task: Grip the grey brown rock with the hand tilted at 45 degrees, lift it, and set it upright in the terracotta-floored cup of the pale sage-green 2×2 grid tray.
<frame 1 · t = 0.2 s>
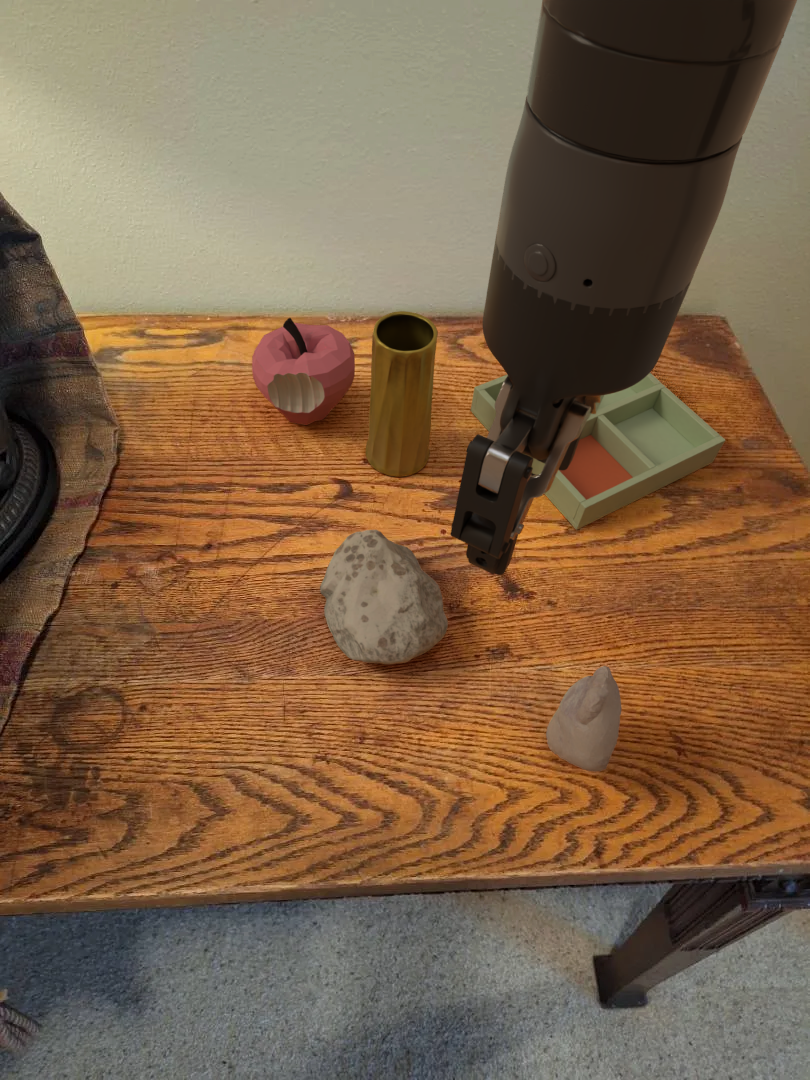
hand: (520, 509, 40), 20 cm above the table, tool pointing down, fingers open, 8 cm apart
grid: (589, 436, 72), on the table
grey brown rock: (565, 751, 53), on the table
decorative stone: (378, 610, 59), on the table
vase: (397, 455, 69), on the table
apple: (307, 413, 72), on the table
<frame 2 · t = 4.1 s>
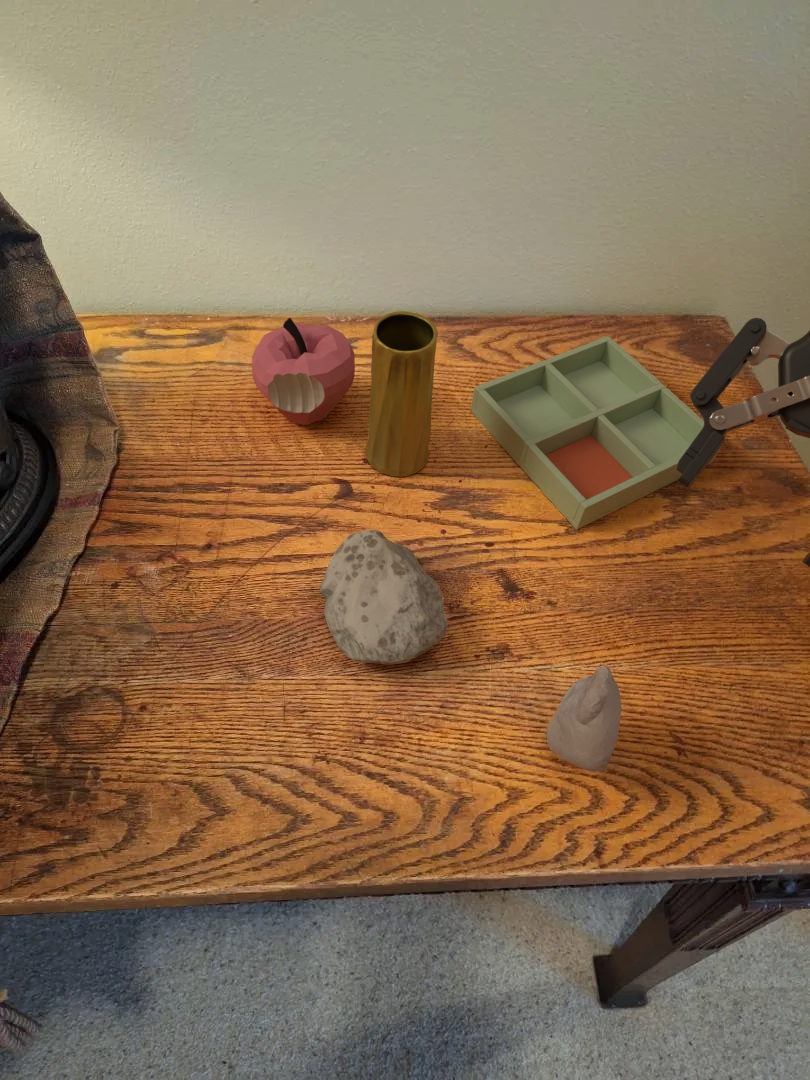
hand: (743, 524, 44), 17 cm above the table, tool tilted 45°, fingers open, 8 cm apart
nothing on the table moved.
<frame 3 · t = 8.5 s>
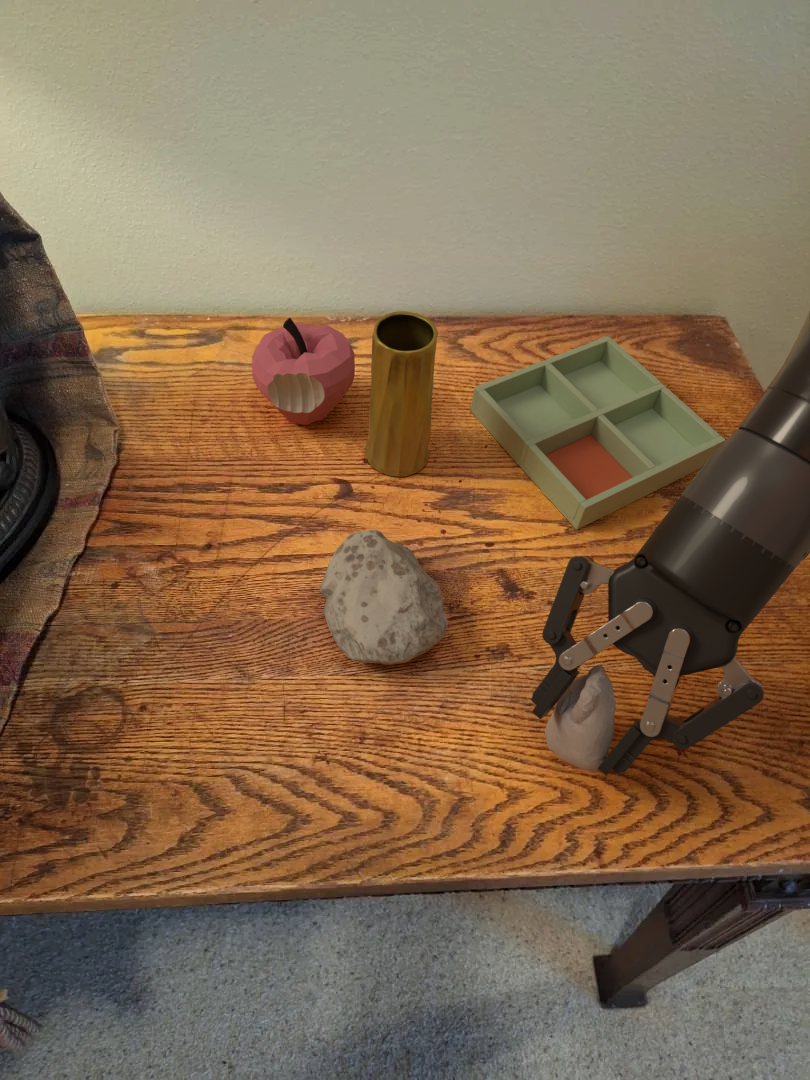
hand: (571, 740, 47), 6 cm above the table, tool tilted 45°, fingers closed on grey brown rock, 4 cm apart
grey brown rock: (565, 751, 53), on the table, touching gripper
everything else where it was.
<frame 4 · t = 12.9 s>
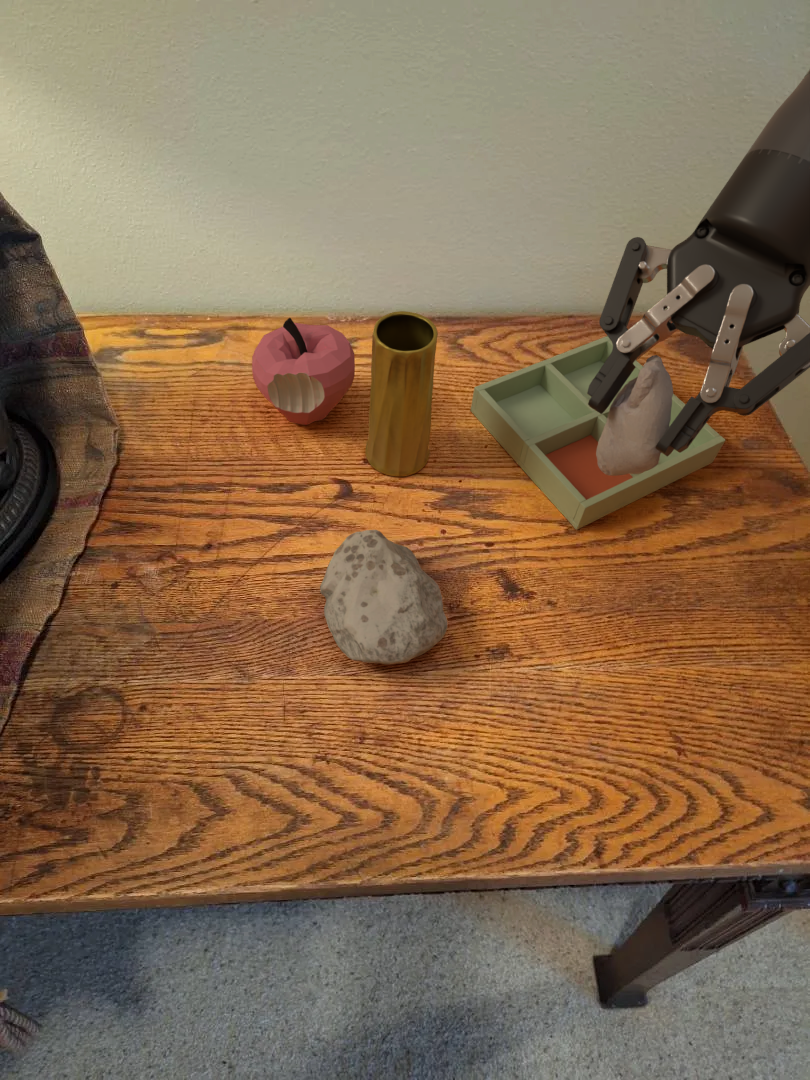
hand: (628, 429, 47), 18 cm above the table, tool tilted 45°, fingers closed on grey brown rock, 4 cm apart
grey brown rock: (615, 475, 53), point 12 cm above the table, touching gripper
everything else where it was.
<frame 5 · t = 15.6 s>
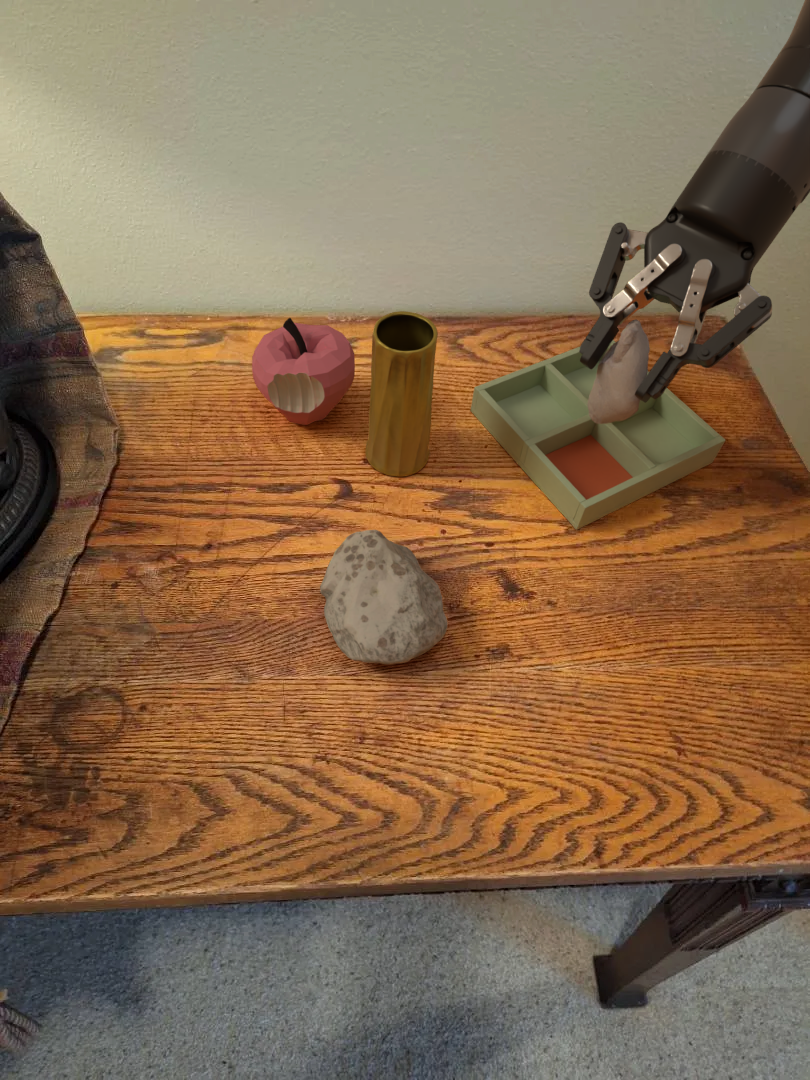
hand: (613, 381, 57), 13 cm above the table, tool tilted 45°, fingers closed on grey brown rock, 4 cm apart
grey brown rock: (604, 424, 63), point 7 cm above the table, touching gripper
everything else where it was.
when the fingers open (7 cm above the table, at t = 17.7 s): grey brown rock stays where it is, resting on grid.
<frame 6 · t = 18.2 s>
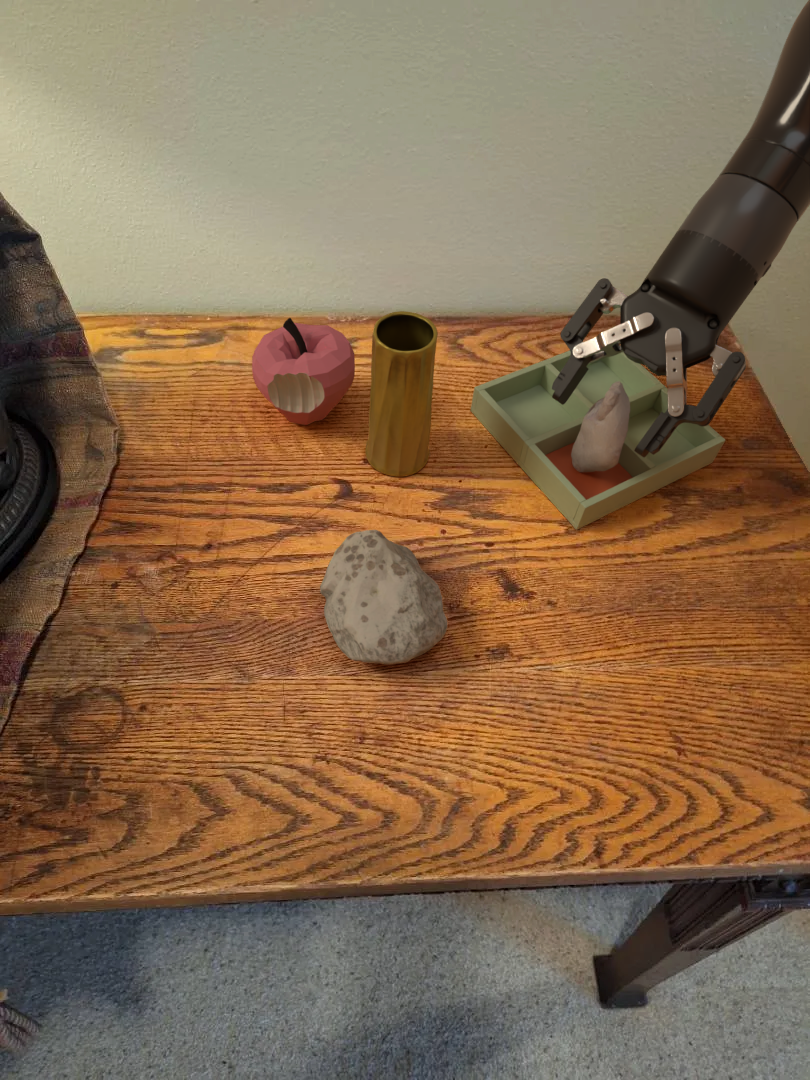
hand: (597, 427, 62), 8 cm above the table, tool tilted 45°, fingers open, 8 cm apart
grey brown rock: (585, 472, 68), point 1 cm above the table, touching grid
everything else where it was.
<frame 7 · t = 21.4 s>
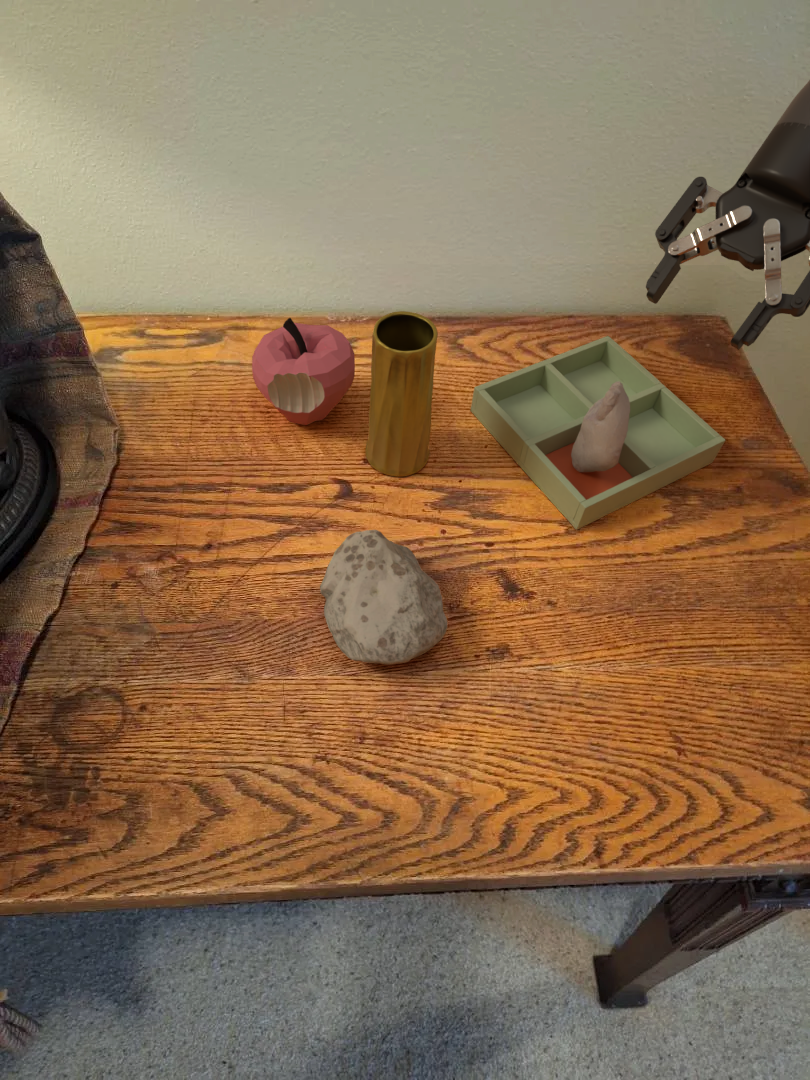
hand: (691, 322, 64), 12 cm above the table, tool tilted 45°, fingers open, 8 cm apart
nothing on the table moved.
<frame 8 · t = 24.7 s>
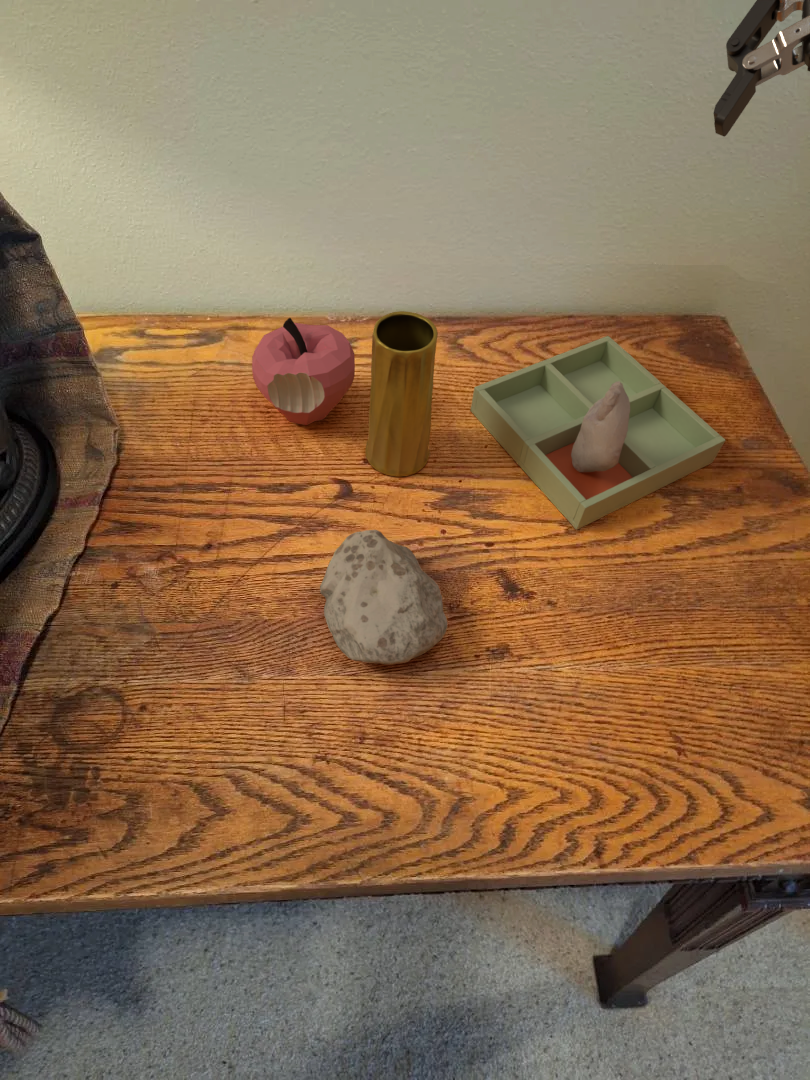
hand: (771, 152, 52), 27 cm above the table, tool tilted 45°, fingers open, 8 cm apart
nothing on the table moved.
at the end: grey brown rock inside the target area in the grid (0.3 cm from its centre), point 0.6 cm above the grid's base; grey brown rock tilted 0°; the gripper is holding nothing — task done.
